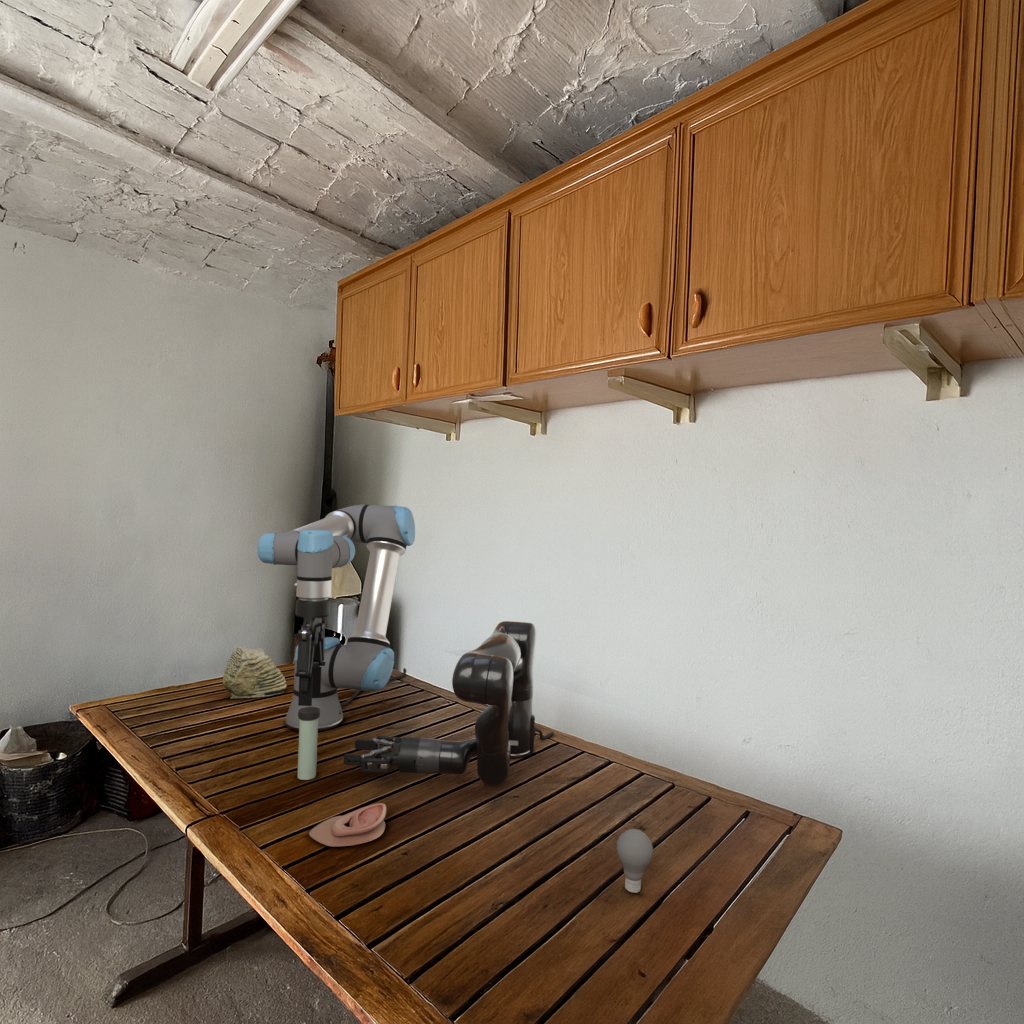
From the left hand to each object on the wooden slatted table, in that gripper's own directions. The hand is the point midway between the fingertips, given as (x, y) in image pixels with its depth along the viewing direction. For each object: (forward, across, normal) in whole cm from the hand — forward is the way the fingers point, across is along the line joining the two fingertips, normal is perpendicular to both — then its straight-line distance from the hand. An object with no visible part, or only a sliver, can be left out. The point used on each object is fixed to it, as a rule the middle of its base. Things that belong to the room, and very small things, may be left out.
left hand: (309, 699), depth 143 cm
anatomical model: (+17, +24, +14) cm, 33 cm away
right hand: (+11, +1, +10) cm, 15 cm away
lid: (+3, 0, 0) cm, 3 cm away
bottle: (+17, 0, 0) cm, 17 cm away
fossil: (+17, -56, -32) cm, 67 cm away
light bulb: (+17, +40, +65) cm, 78 cm away
